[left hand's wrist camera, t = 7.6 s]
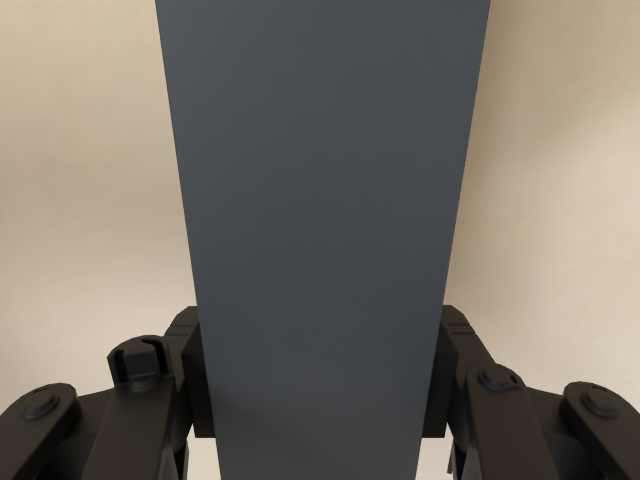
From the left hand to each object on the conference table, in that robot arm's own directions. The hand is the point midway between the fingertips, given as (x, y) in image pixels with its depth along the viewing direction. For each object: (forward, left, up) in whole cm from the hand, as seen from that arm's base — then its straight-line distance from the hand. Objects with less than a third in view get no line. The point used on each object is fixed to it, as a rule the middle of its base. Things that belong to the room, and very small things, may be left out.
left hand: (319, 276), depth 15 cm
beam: (+28, +20, -1) cm, 34 cm away
